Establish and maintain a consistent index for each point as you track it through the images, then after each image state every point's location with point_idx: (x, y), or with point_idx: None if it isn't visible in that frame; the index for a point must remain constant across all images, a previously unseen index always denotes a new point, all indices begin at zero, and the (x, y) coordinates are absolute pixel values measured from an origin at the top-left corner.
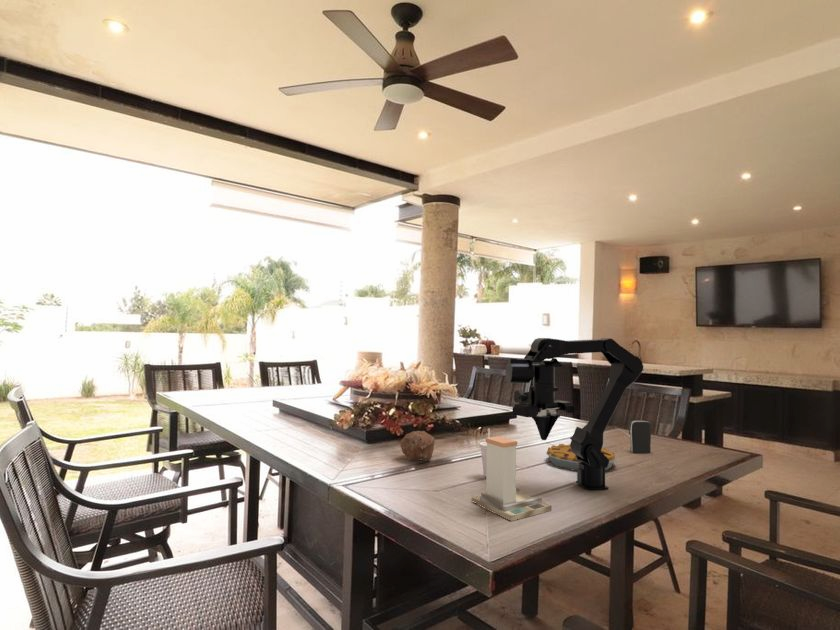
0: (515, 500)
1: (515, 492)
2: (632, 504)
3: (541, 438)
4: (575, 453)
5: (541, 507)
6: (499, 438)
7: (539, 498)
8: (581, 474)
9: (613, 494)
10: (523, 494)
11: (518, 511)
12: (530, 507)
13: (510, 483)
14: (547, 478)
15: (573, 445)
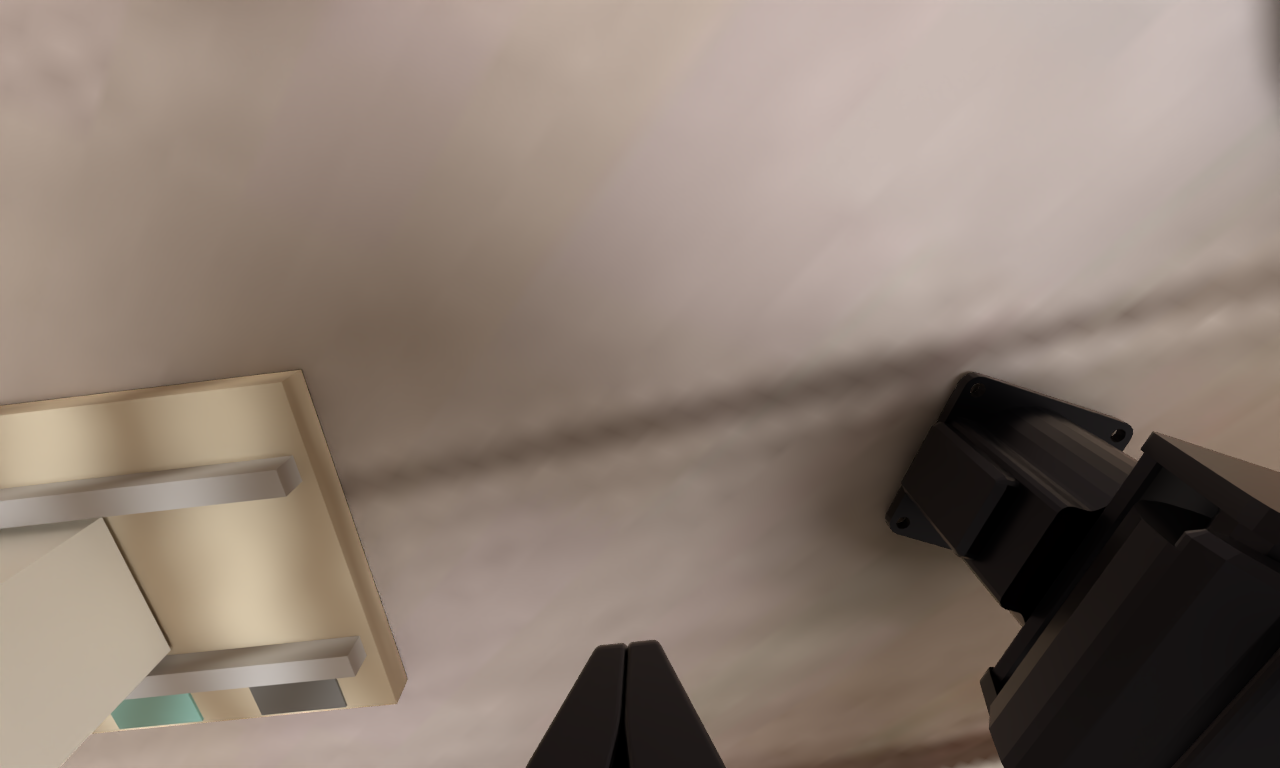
0: (145, 674)
1: (102, 719)
2: (899, 756)
3: (590, 669)
4: (1086, 577)
5: (319, 708)
6: None
7: (338, 675)
8: (941, 532)
9: (965, 628)
10: (321, 515)
11: (151, 714)
12: (252, 692)
13: None
14: (857, 159)
15: (1150, 648)
